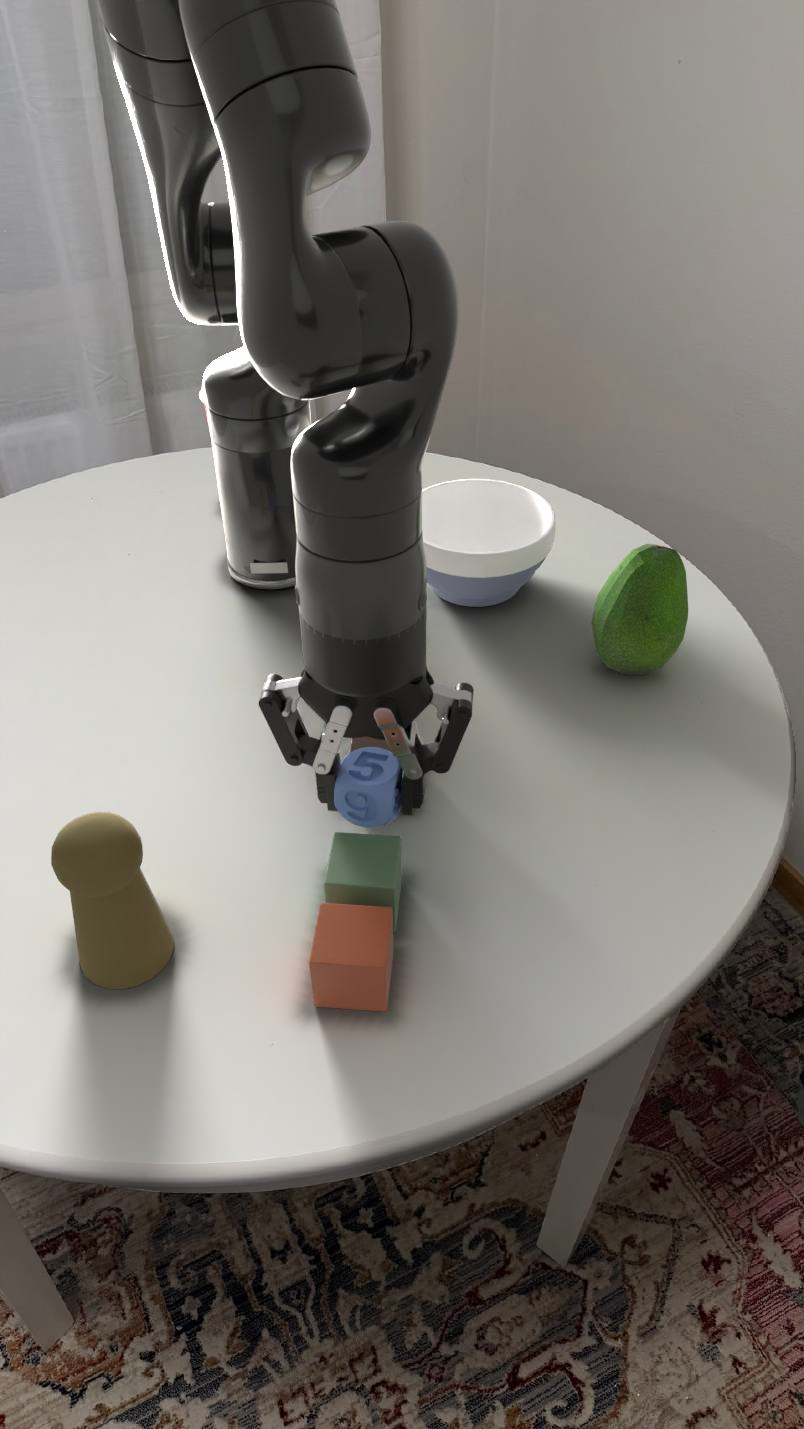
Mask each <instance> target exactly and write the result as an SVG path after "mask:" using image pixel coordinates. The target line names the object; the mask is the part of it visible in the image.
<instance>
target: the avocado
mask: <svg viewBox="0 0 804 1429" xmlns="http://www.w3.org/2000/svg"><path fill="white" fill-rule="evenodd" d="M688 596H689V595H688V580H687V570H686V568H685V564H684V561H683V559H682V558H681V555H680V553H679V552H678V551H677V550H676V549H675V548H671V547H668V546H664V545H661V544H654V543H644V544H642V545H639V546H638V547H636V548H633V549H632V550H631V551H630V552H629V553H628V554H626V555H625V557H624V558H623V559H622V561H621V562H620V563H619V564H618V565H617V567H615V569H614V570H613V571H612V572H611V573H610V575H609V576H608V578H607V579H606V581H605V583H604V584H603V586H602V588H601V589H600V590H599V592H598V594H597V597H596V601H595V606H594V610H593V614H592V618H591V629H592V635H593V641H594V650H595V652H596V654H597V655H598V656H599V658H600V659H601V660H602V662H603V663H604V664H605V665H606V667H607V668H609V669H611V670H613V671H614V672H617V673H618V672H619V673H620V674H623V675H647V674H651V673H652V672H653V673H654V672H656V671H659V670H660V669H662V668H663V667H664V666H665V665H666V664H668V662H669V661H670V660H671V659H672V658H673V656H675V654H676V652H678V649H679V648H680V647H681V644H682V643H683V641H684V638H685V634H686V630H687V624H688V619H689V598H688Z"/></svg>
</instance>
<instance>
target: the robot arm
mask: <svg viewBox="0 0 804 1429" xmlns="http://www.w3.org/2000/svg"><path fill="white" fill-rule="evenodd" d="M96 4H97V8H98V12H99V17H100V21H101V24H102V27H103V32H104V35H105V38H106V41H107V45H108V48H109V53H110V57H111V60H112V63H113V67H114V69H115V72H116V76H117V79H118V82H119V85H120V88H121V91H122V94H123V97H124V99H125V103H126V107H127V109H128V113H129V116H130V120H131V122H132V126H133V130H134V133H135V136H136V139H137V143H138V146H139V149H140V152H141V156H142V160H143V163H144V167H145V171H146V175H147V179H148V184H149V189H150V193H151V198H152V202H153V208H154V213H155V217H156V222H157V228H158V233H159V237H160V242H161V248H162V252H163V257H164V258H163V259H164V262H165V267H166V271H167V275H168V280H169V285H170V289H171V291H172V296H173V298H174V300H175V303H176V305H177V307H178V308H179V310H180V312H181V313H182V315H183V317H185V318H186V320H188V321H189V322H192V323H194V324H197V325H204V326H210V327H211V326H213V327H215V326H218V327H219V326H220V327H221V326H239V331H240V336H241V340H242V343H243V346H242V347H240V348H237V349H236V350H234V351H231V352H229V353H226V354H224V355H222V356H220V357H218V358H217V359H215V360H213V361H212V362H211V363H210V364H209V365H208V366H207V367H206V369H205V371H204V373H203V376H202V377H203V379H202V384H203V388H204V395H205V401H206V408H207V415H208V420H207V423H208V422H209V425H208V430H209V429H210V430H209V435H210V440H211V448H212V454H213V463H214V469H215V475H216V483H217V491H218V496H219V503H220V511H221V512H220V513H221V518H222V526H223V533H224V540H225V548H226V555H227V558H226V560H227V562H226V563H227V568H228V572H229V574H230V577H232V579H234V580H235V581H237V582H238V583H240V584H242V585H244V586H246V587H251V588H254V589H262V590H279V589H286V588H291V587H294V593H295V601H296V604H297V606H298V616H299V626H300V627H299V628H300V638H301V650H302V660H303V669H302V671H301V674H300V676H299V677H294V678H288V679H284V678H283V677H282V676H281V675H280V674H278V673H270V674H268V675H267V676H266V678H265V681H264V684H263V686H262V689H261V692H260V696H259V700H258V707H259V709H260V711H261V713H262V715H263V717H264V719H265V721H266V723H267V725H268V727H269V729H270V732H271V734H272V736H273V737H274V740H275V742H276V744H277V746H278V748H279V750H280V752H281V754H282V757H283V758H284V760H285V762H286V763H287V764H288V765H290V766H292V767H299V766H301V765H303V764H304V765H307V766H310V767H311V768H312V770H313V771H314V773H315V781H316V794H317V799H318V801H319V803H320V804H326V808H327V812H339V811H338V810H337V809H336V807H335V803H334V789H335V782H336V777H337V773H338V770H339V767H340V764H341V756H340V755H341V754H340V752H339V751H340V747H341V744H342V742H343V741H344V740H343V739H352V738H359V737H370V738H374V739H378V740H386V741H387V743H388V745H389V748H390V750H391V752H392V754H393V756H394V757H397V758H398V761H399V763H400V765H401V767H402V770H403V773H402V807H401V811H402V812H401V814H402V816H413V815H414V809H421V808H422V806H423V804H424V798H425V786H426V785H425V778H426V777H425V776H426V774H428V773H429V772H434V773H436V774H439V775H443V774H446V773H449V771H450V769H451V767H452V765H453V762H454V759H455V757H456V756H457V753H458V750H459V748H460V746H461V743H462V742H463V739H464V736H465V734H466V731H467V729H468V726H469V725H470V722H471V720H472V716H473V711H474V710H473V708H474V707H473V706H474V687H473V685H472V684H470V683H469V682H459V683H458V684H456V685H455V687H454V688H452V687H449V686H445V685H441V684H437V683H435V680H434V677H433V676H432V674H431V673H430V671H429V670H428V667H427V602H428V600H427V599H428V592H427V583H428V582H427V568H426V557H425V550H424V544H423V534H422V489H423V465H424V460H425V456H426V453H427V449H428V447H429V443H430V442H431V441H430V440H431V437H432V434H433V431H434V426H435V423H436V418H437V415H438V411H439V408H440V404H441V401H442V398H443V394H444V392H445V391H444V390H445V387H446V385H447V384H446V383H447V380H448V376H449V373H450V369H451V365H452V362H453V358H454V355H455V354H454V353H455V349H456V345H457V339H458V330H459V321H460V300H459V292H458V286H457V281H456V277H455V273H454V272H455V271H454V270H453V267H452V264H451V261H450V260H449V257H448V255H447V252H446V251H445V249H444V247H443V246H442V245H441V243H440V242H439V240H438V239H437V238H436V237H435V236H434V234H433V233H431V232H430V231H429V230H428V229H426V228H425V227H423V226H422V225H420V224H417V223H415V222H413V221H408V220H386V221H380V222H374V223H371V224H364V225H360V226H355V227H350V228H344V229H338V230H333V231H327V232H321V233H316V234H311V233H310V231H309V227H308V225H307V224H308V223H307V220H306V215H305V205H306V198H307V197H309V196H311V195H314V194H315V193H318V192H319V191H321V190H324V189H327V188H329V187H331V186H333V185H334V184H336V183H337V182H340V181H342V180H343V179H345V178H347V177H348V176H350V174H352V173H353V172H354V171H355V170H356V169H358V167H359V166H361V164H362V163H363V162H364V160H365V158H366V157H367V155H368V154H369V151H370V146H371V142H372V130H371V121H370V117H369V112H368V108H367V105H366V101H365V98H364V94H363V90H362V87H361V83H360V81H359V77H358V73H357V72H358V71H357V69H356V65H355V63H354V59H353V55H352V52H351V49H350V45H349V42H348V39H347V38H348V37H347V35H346V31H345V28H344V24H343V21H342V17H341V14H340V11H339V8H338V5H337V2H336V0H96ZM221 158H222V160H223V165H224V166H223V167H224V171H225V176H226V177H225V178H226V185H227V192H228V199H229V200H228V201H214V202H213V201H212V202H210V201H209V202H208V201H207V202H206V201H202V198H203V195H204V193H205V189H206V186H207V184H208V181H209V180H210V176H211V175H212V173H213V171H214V169H215V167H216V166H217V164H218V163H219V161H220V160H221ZM350 390H351V392H350V394H349V396H348V397H347V399H346V400H345V401H344V402H343V403H342V404H341V405H340V406H338V407H337V408H336V409H334V410H333V411H331V412H330V413H327V414H326V415H325V416H323V417H321V418H320V419H318V420H317V421H315V422H314V423H312V416H311V415H312V414H311V400H316V399H320V398H324V397H328V396H332V395H333V396H334V395H336V394H340V393H344V392H346V391H350ZM207 415H206V416H207ZM300 698H301V700H303V701H304V703H305V704H306V705H308V707H309V708H310V709H311V710H312V711H313V712H314V713H315V714H316V715H317V716H318V717H319V718H320V719H321V720H322V721H323V722H324V724H323V726H322V729H321V732H320V735H319V738H316V737H314V736H310V733H309V731H308V730H307V728H306V725H305V723H304V720H303V719H302V716H301V714H300V712H299V710H298V706H299V701H300ZM430 705H433V706H434V707H435V708H436V717H437V719H438V720H439V721H441V722H440V725H439V727H438V730H437V733H436V734H435V738H434V740H433V742H428V743H424V742H423V739H422V737H421V734H420V732H419V730H418V725H417V724H418V723H417V718H418V717H419V716H420V715H421V714H422V713H423V712H424V711H425V710H426V709H427V708H428V707H429V706H430Z"/></svg>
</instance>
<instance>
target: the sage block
mask: <svg viewBox="0 0 804 1429" xmlns="http://www.w3.org/2000/svg"><path fill="white" fill-rule="evenodd" d="M330 845H331V846H330V850H329V856H328V862H327V866H326V871H325V877H324V883H323V886H324V897H325V903H330V904H346V905H362V906H378V907H392V911H393V933H396V932H397V927H398V917H399V909H400V900H401V892H402V884H403V883H402V882H403V866H402V864H403V863H402V860H403V859H402V836H401V835H394V834H393V835H392V834H373V833H360V832H359V833H358V832H343V831H342V832H341V831H340V832H339V831H334V832H333V835H332V840H331V844H330Z"/></svg>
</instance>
